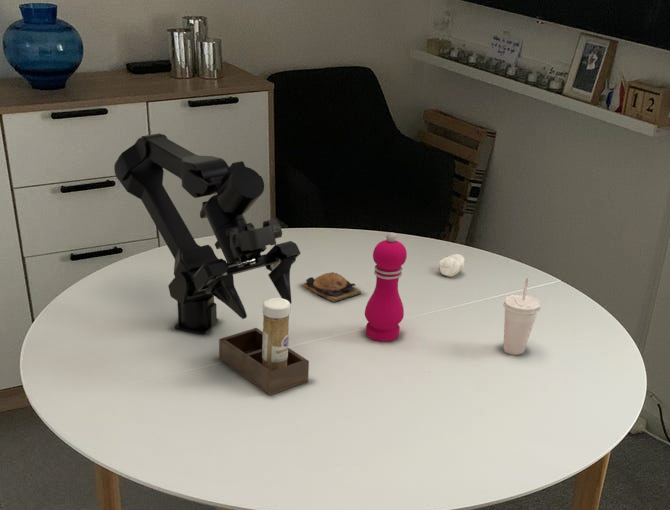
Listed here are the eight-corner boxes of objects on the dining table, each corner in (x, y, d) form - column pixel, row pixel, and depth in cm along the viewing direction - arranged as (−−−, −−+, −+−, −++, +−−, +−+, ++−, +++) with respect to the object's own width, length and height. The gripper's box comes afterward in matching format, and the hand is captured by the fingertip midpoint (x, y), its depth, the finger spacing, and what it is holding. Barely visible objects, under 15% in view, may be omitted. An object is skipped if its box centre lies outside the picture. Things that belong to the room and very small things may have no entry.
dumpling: (468, 278, 191) (468, 263, 188) (445, 284, 191) (445, 268, 188) (456, 261, 196) (457, 246, 193) (434, 266, 196) (434, 251, 193)
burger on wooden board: (363, 294, 183) (365, 278, 181) (331, 303, 179) (333, 287, 177) (331, 277, 190) (332, 261, 188) (299, 285, 186) (300, 269, 184)
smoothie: (534, 346, 163) (548, 275, 156) (528, 361, 158) (542, 288, 151) (499, 339, 166) (512, 269, 158) (492, 353, 161) (504, 282, 153)
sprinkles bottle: (283, 382, 149) (286, 309, 142) (257, 378, 151) (259, 305, 143) (290, 370, 153) (293, 298, 146) (265, 366, 154) (267, 295, 147)
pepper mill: (400, 344, 163) (411, 241, 153) (361, 340, 165) (369, 238, 154) (402, 327, 169) (413, 227, 159) (364, 324, 171) (373, 224, 160)
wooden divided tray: (219, 359, 158) (218, 339, 156) (256, 347, 162) (256, 327, 160) (270, 395, 147) (270, 374, 145) (308, 381, 151) (309, 360, 149)
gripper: (201, 215, 138) (241, 305, 136) (295, 194, 147) (334, 278, 145) (176, 247, 147) (213, 332, 146) (267, 226, 156) (303, 305, 155)
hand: (267, 311), depth 148 cm, fingers open, 9 cm apart
